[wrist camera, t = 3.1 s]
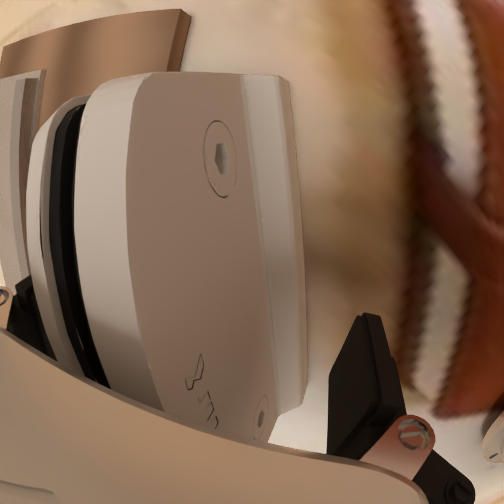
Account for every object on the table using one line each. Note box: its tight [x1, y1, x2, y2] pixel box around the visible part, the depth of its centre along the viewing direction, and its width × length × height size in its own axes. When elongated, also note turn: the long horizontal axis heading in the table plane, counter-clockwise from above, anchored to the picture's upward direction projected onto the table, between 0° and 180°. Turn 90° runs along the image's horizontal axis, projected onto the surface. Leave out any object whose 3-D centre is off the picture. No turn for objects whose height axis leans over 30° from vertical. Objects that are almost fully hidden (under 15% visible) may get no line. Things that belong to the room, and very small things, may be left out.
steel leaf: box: [0, 70, 46, 296], centre depth 14 cm, size 6×17×1 cm, turn 169°
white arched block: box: [26, 72, 307, 443], centre depth 10 cm, size 17×5×10 cm, turn 7°
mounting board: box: [0, 9, 191, 129], centre depth 15 cm, size 14×22×1 cm, turn 169°
